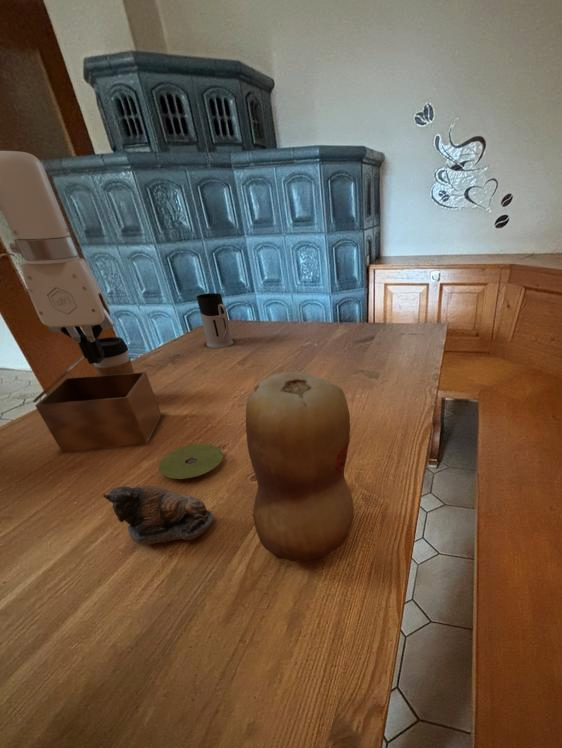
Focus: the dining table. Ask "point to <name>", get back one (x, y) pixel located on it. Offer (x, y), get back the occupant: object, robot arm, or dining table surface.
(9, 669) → the dining table surface
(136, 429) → the carton
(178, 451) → the mat
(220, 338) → the glass holder
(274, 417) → the butternut squash
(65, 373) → the carton flap
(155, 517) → the bison figurine
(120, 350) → the coffee cup
